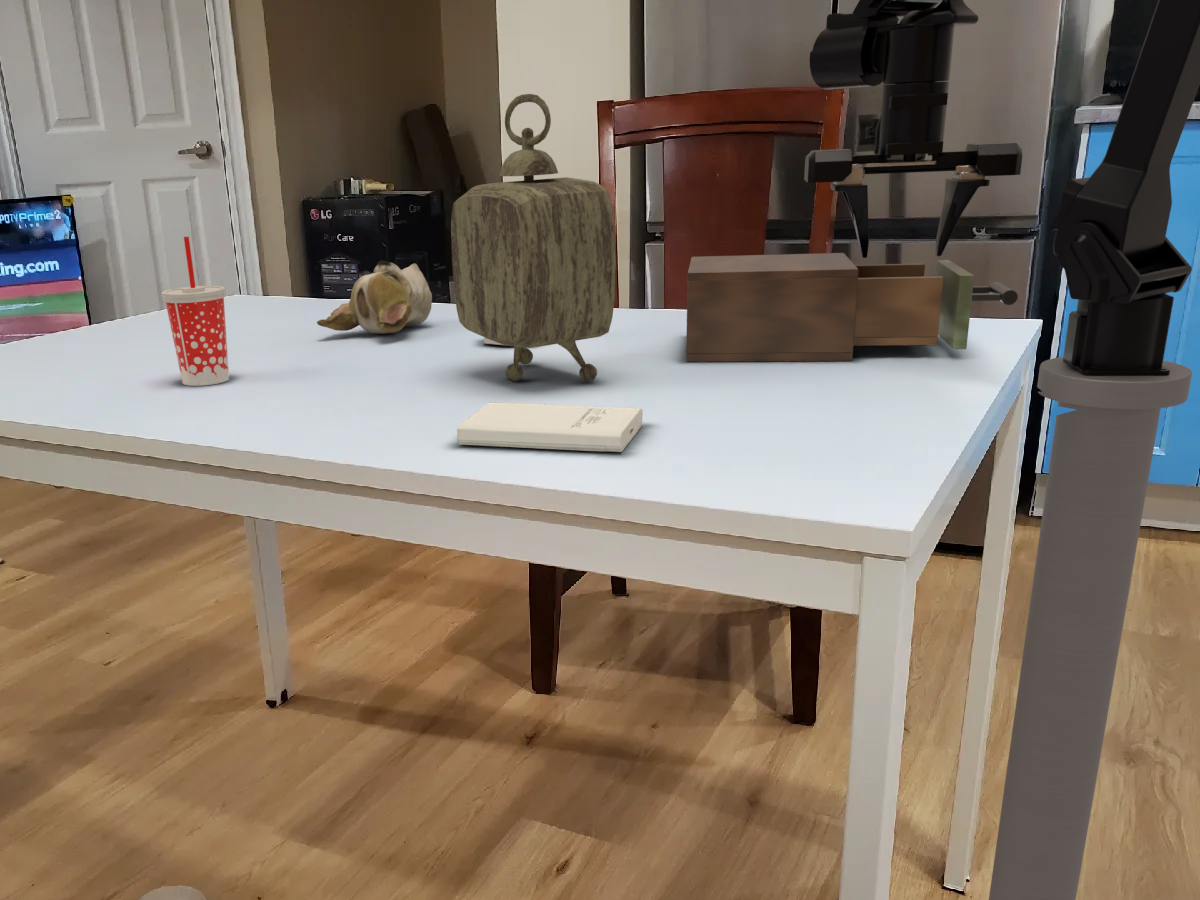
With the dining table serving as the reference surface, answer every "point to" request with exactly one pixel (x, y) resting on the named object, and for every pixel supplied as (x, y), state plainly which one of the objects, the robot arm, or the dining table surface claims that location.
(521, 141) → the tabletop clock
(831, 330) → the cabinet
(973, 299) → the drawer
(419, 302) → the ceramic sculpture
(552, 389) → the dining table surface
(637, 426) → the hard drive
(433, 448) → the dining table surface
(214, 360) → the beverage cup
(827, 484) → the dining table surface
